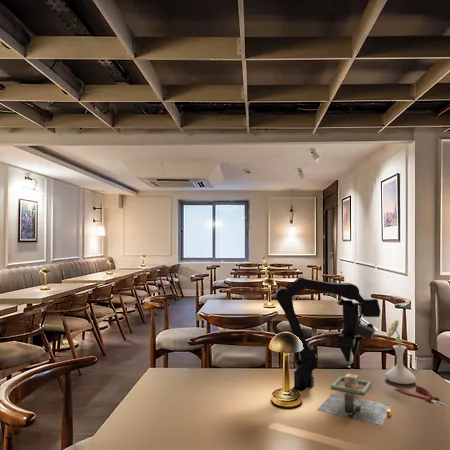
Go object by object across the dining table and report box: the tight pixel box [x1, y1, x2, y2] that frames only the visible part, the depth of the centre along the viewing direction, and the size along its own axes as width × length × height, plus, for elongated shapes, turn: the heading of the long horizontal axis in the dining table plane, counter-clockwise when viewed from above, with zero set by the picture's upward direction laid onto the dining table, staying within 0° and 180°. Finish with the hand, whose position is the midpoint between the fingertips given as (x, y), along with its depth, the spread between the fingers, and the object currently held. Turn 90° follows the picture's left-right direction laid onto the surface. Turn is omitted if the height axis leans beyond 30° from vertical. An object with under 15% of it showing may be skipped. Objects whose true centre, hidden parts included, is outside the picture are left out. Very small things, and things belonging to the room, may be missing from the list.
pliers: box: [395, 385, 447, 407], centre depth 138 cm, size 12×20×3 cm, turn 17°
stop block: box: [344, 373, 359, 389], centre depth 149 cm, size 4×4×5 cm
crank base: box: [316, 393, 393, 426], centre depth 130 cm, size 21×17×3 cm
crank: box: [344, 392, 361, 414], centre depth 127 cm, size 10×4×6 cm, turn 148°
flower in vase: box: [384, 319, 417, 385], centre depth 158 cm, size 13×11×25 cm
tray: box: [330, 375, 373, 396], centre depth 149 cm, size 12×12×2 cm
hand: (351, 358), depth 150 cm, fingers open, 9 cm apart
